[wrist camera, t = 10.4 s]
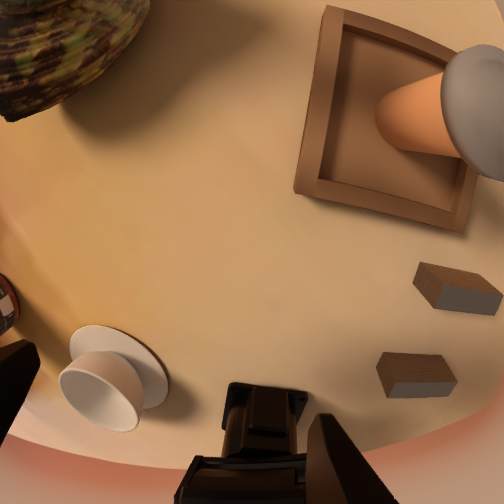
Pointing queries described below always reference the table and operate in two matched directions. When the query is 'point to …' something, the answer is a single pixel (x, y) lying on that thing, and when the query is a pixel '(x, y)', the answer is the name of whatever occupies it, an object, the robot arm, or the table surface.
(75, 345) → the teacup
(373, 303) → the table surface
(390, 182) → the tray
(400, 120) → the pin
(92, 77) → the seashell
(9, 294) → the supplement bottle
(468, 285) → the hitch bracket
